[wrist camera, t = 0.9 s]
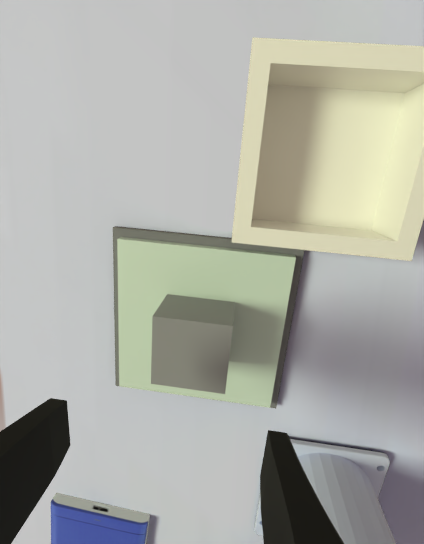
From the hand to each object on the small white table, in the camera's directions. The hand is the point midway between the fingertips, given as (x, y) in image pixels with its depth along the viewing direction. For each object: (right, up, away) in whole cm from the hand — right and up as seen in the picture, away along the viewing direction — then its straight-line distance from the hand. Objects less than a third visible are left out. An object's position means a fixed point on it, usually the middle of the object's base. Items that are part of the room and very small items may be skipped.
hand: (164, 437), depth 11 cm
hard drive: (-8, -19, +17) cm, 27 cm away
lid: (+1, +3, +8) cm, 9 cm away
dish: (+7, +12, +5) cm, 15 cm away
